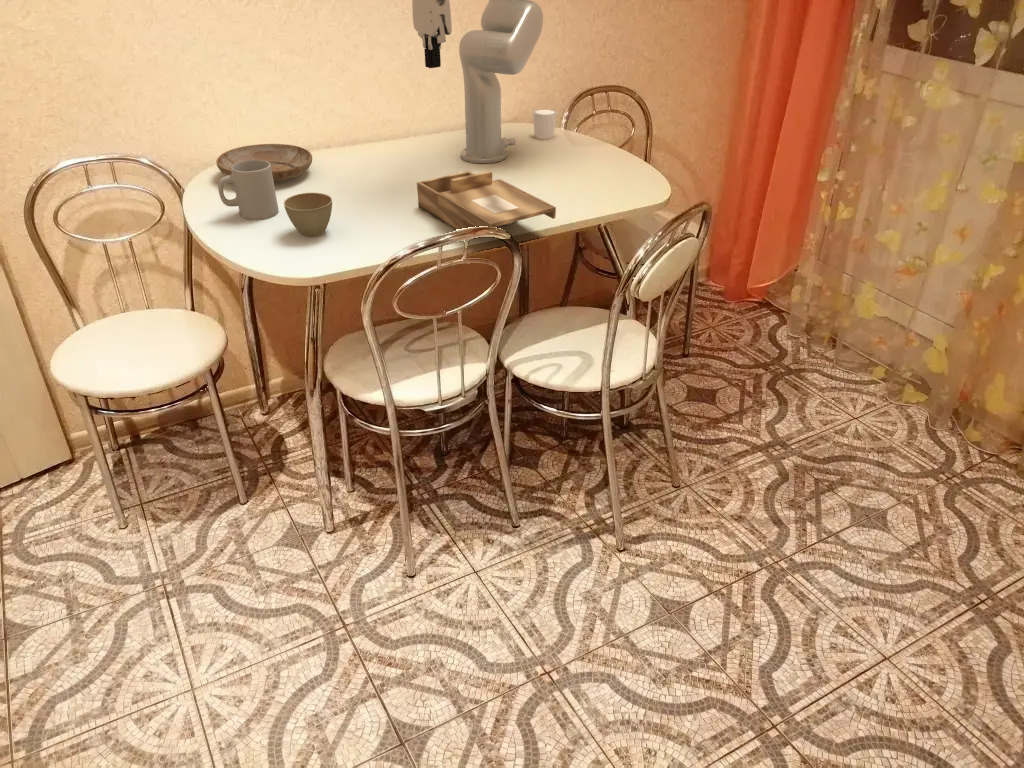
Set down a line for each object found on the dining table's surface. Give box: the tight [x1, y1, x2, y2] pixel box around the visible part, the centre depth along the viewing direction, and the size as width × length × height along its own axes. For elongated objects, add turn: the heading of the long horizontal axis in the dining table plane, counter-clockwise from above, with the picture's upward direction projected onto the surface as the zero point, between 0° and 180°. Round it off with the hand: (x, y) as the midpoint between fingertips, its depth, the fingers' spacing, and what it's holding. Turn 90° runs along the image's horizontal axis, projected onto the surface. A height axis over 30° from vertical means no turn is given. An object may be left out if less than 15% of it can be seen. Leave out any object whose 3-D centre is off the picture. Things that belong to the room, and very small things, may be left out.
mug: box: [217, 160, 279, 221], centre depth 172 cm, size 12×8×11 cm
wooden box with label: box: [438, 170, 557, 228], centre depth 163 cm, size 16×21×5 cm
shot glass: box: [532, 108, 558, 140], centre depth 224 cm, size 7×7×7 cm
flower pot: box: [283, 192, 333, 238], centre depth 165 cm, size 10×10×7 cm
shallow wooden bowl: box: [215, 143, 313, 184], centre depth 196 cm, size 23×24×5 cm
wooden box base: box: [416, 170, 519, 231], centre depth 174 cm, size 14×20×6 cm
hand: (433, 66), depth 179 cm, fingers closed
